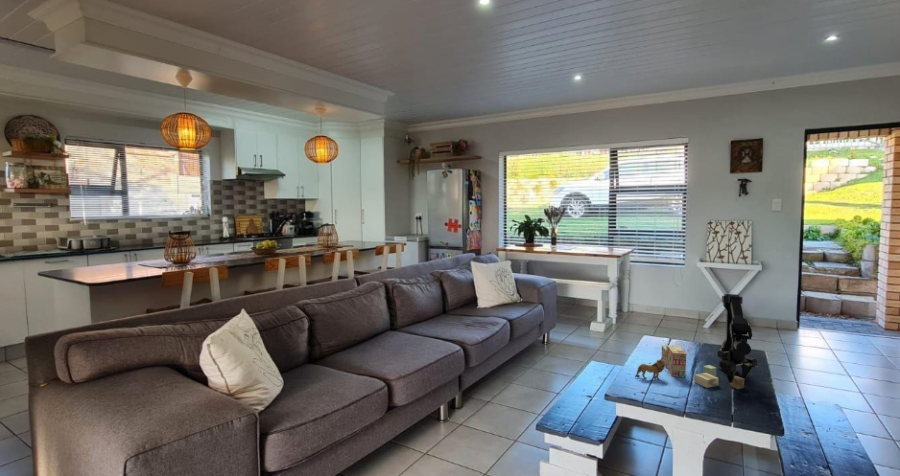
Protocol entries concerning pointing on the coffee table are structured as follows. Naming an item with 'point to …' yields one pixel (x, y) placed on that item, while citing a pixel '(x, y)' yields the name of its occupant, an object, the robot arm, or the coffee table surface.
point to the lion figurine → (651, 369)
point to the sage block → (709, 370)
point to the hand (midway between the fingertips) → (737, 380)
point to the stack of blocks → (674, 360)
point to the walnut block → (737, 382)
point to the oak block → (706, 380)
